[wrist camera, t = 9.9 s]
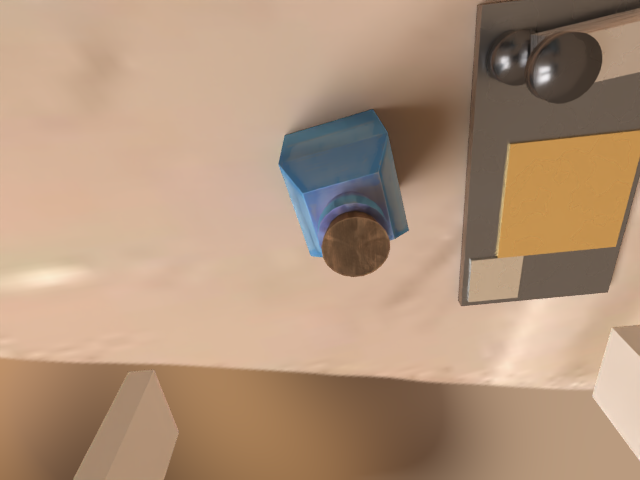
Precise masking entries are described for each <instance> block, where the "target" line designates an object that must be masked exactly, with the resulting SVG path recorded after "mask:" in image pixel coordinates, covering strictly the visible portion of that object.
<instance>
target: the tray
mask: <svg viewBox="0 0 640 480" xmlns="http://www.w3.org/2000/svg"><path fill="white" fill-rule="evenodd" d="M637 8H640V0H517V1H508V2H500V3H491V4H483V5H477V18H476V33H475V49H474V64H473V80H472V95H471V110H470V126H469V141H468V157H467V172H466V188H465V203H464V218H463V234H462V249H461V265H460V280H459V296H458V301H459V303H460V305H461V306H468V305H479V304H489V303H500V302H510V301H521V300H531V299H542V298H552V297H563V296H574V295H584V294H595V293H605V292H608V290H609V286H610V282H611V279H612V275H613V271H614V268H615V264H616V260H617V257H618V253H619V249H620V246H621V242H622V238H623V235H624V231H625V227H626V224H627V220H628V216H629V213H630V209H631V205H632V202H633V198H634V194H635V191H636V187H637V183H638V180H639V176H640V72H637V73H633V74H628V75H624V76H620V77H616V78H611V79H607V80H603V81H598V82H594V84H593V85H592V86H591V87H590V89H589V90H588V91H587V92H585V93H584V94H583V95H582V96H580V97H579V98H577V99H575V100H573V101H571V102H567V103H562V104H556V103H551V102H548V101H545V100H542V99H540V98H537V97H536V96H534V95H533V94H532V93H531V92H530V91H529V90H528V88H527V86H526V83H525V77H524V73H525V66H526V63H527V60H528V58H529V56H530V52H531V34H535V33H539V32H543V31H547V30H551V29H556V28H560V27H564V26H568V25H572V24H576V23H580V22H584V21H588V20H592V19H596V18H600V17H604V16H609V15H613V14H617V13H621V12H625V11H629V10H633V9H637Z"/></svg>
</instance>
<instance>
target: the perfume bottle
mask: <svg viewBox="0 0 640 480" xmlns="http://www.w3.org/2000/svg"><path fill="white" fill-rule="evenodd" d="M279 167H280V170H281V173H282V175H283V178H284V181H285V184H286V187H287V190H288V192H289V195H290V198H291V201H292V204H293V207H294V209H295V212H296V215H297V218H298V221H299V224H300V226H301V229H302V232H303V235H304V238H305V241H306V243H307V246H308V249H309V252H310V255H311V256H316V257H323V258H324V260H325V262H326V264H327V265H328V266H329V267H330V268H331V269H332V270H333V271H335V272H337V273H339V274H341V275H344V276H350V277H357V276H364V275H367V274H369V273H372V272H374V271H375V270H377V269H378V268H379V267H381V266H382V264H383V263H384V262H385V260H386V259H387V257H388V254H389V250H390V240H393V239H396V238H397V237H399V236H400V235H402V234H404V233H405V232H407V231H409V229H408V225H407V220H406V215H405V211H404V206H403V201H402V197H401V192H400V187H399V183H398V178H397V173H396V169H395V164H394V159H393V155H392V150H391V145H390V141H389V136H388V132H387V130H386V129H385V127H384V126H383V124H382V123H381V121H380V119H379V118H378V116H377V115H376V113H375V112H374V110H373V109H372V110H368V111H365V112H361V113H358V114H355V115H351V116H348V117H345V118H341V119H338V120H335V121H331V122H328V123H325V124H321V125H318V126H315V127H311V128H308V129H305V130H301V131H298V132H295V133H291V134H288V135H285V137H284V141H283V146H282V151H281V155H280V160H279Z"/></svg>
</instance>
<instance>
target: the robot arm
mask: <svg viewBox="0 0 640 480" xmlns="http://www.w3.org/2000/svg"><path fill="white" fill-rule="evenodd" d="M592 397H593V398H594V399H595V401H596V402H597V403H598V405H599V406H600V407H601V409H602V410H603V412H604V413H605V414H606V416H607V417H608V418H609V420H610V421H611V422H612V424H613V425H614V426H615V428H616V429H617V431H618V432H619V433H620V435H621V436H622V437H623V439H624V440H625V441H626V443H627V444H628V445H629V447H630V448H631V450H632V451H633V452H634V454H635V455H636V456H637V458H638V459H639V460H640V325H634V326H623V327H612V329H611V332H610V336H609V339H608V343H607V346H606V350H605V353H604V357H603V360H602V363H601V367H600V370H599V374H598V377H597V381H596V384H595V388H594V391H593V395H592ZM178 433H179V431H178V429H177V426H176V424H175V421H174V419H173V416H172V414H171V411H170V409H169V406H168V404H167V401H166V399H165V396H164V394H163V391H162V389H161V386H160V384H159V381H158V379H157V376H156V374H155V371H154V370H146V371H134V372H128V374H127V376H126V378H125V379H124V381H123V383H122V385H121V387H120V389H119V391H118V393H117V395H116V397H115V399H114V401H113V403H112V405H111V407H110V409H109V411H108V413H107V414H106V416H105V418H104V420H103V422H102V424H101V426H100V428H99V430H98V432H97V434H96V436H95V438H94V440H93V442H92V444H91V446H90V448H89V450H88V452H87V453H86V455H85V457H84V459H83V461H82V464H81V465H80V467H79V469H78V471H77V473H76V475H75V477H74V479H73V480H164V477H165V474H166V471H167V468H168V464H169V461H170V458H171V455H172V452H173V449H174V446H175V443H176V439H177V436H178Z"/></svg>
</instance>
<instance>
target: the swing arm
mask: <svg viewBox="0 0 640 480" xmlns="http://www.w3.org/2000/svg"><path fill="white" fill-rule="evenodd" d="M637 72H640V8H637V9H633V10H629V11H625V12H621V13H617V14H613V15H609V16H604V17H600V18H596V19H592V20H588V21H584V22H580V23H576V24H572V25H568V26H564V27H560V28H556V29H551V30H547V31H543V32H539V33H535V34H531V52H530V56H529V58H528V60H527V63H526V66H525V73H524V77H525V83H526V86H527V88H528V90H529V91H530V92H531V93H532V94H533V95H534V96H536V97H537V98H540V99H542V100H545V101H548V102H551V103H556V104H562V103H567V102H571V101H573V100H575V99H577V98H579V97H580V96H582V95H583V94H584V93H585V92H587V91H588V90H589V89H590V87H591V86H592V85H593V84H594V82H598V81H603V80H607V79H611V78H616V77H620V76H624V75H628V74H633V73H637Z"/></svg>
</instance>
